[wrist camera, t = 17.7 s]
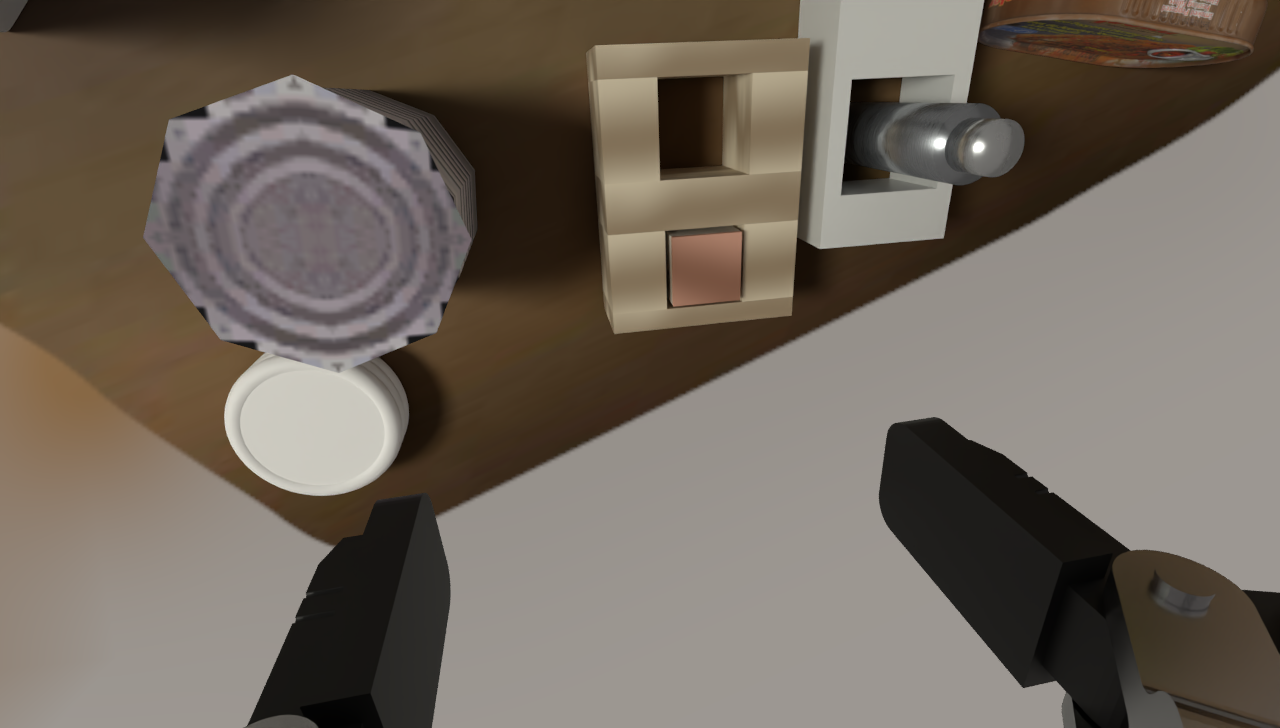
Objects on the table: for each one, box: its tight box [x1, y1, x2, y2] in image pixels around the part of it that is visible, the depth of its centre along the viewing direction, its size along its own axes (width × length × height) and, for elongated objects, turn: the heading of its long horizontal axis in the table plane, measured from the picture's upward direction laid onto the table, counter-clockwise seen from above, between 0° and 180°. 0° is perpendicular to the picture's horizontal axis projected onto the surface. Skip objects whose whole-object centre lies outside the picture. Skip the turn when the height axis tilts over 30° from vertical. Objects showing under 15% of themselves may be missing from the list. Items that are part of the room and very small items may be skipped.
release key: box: [665, 226, 742, 306], centre depth 36 cm, size 4×4×4 cm
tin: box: [978, 0, 1267, 68], centre depth 33 cm, size 15×3×8 cm, turn 84°
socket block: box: [586, 38, 810, 334], centre depth 35 cm, size 15×11×5 cm
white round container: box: [224, 353, 409, 496], centre depth 38 cm, size 10×10×4 cm
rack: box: [797, 0, 984, 249], centre depth 35 cm, size 15×8×5 cm, turn 3°
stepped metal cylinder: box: [844, 102, 1025, 185], centre depth 32 cm, size 4×4×13 cm
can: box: [143, 75, 477, 373], centre depth 29 cm, size 11×11×12 cm
